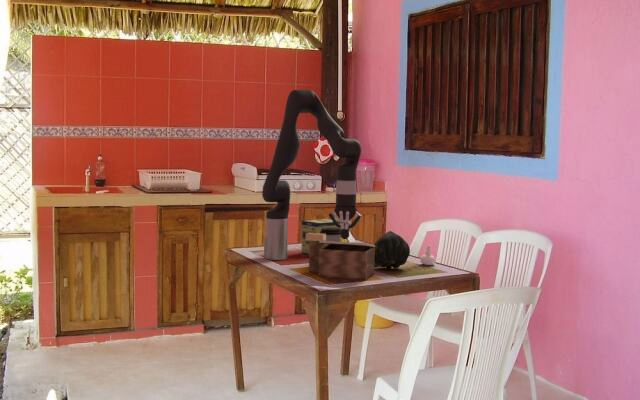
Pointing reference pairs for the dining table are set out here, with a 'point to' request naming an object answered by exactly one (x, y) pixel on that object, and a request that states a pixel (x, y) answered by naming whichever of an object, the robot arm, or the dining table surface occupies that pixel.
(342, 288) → the dining table surface
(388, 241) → the squash
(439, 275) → the dining table surface
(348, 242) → the lid
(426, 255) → the garlic bulb
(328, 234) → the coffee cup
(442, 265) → the dining table surface
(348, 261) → the box
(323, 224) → the protein box
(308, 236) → the latch bolt
